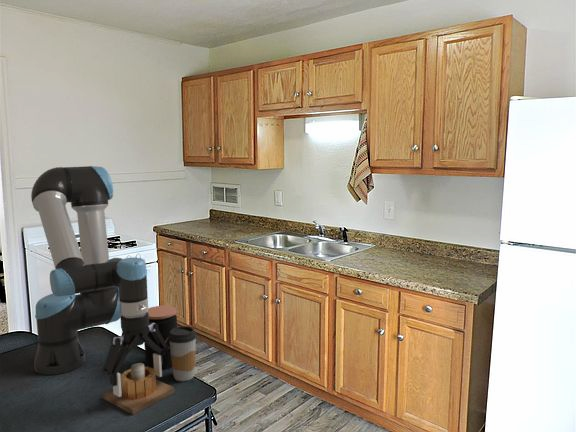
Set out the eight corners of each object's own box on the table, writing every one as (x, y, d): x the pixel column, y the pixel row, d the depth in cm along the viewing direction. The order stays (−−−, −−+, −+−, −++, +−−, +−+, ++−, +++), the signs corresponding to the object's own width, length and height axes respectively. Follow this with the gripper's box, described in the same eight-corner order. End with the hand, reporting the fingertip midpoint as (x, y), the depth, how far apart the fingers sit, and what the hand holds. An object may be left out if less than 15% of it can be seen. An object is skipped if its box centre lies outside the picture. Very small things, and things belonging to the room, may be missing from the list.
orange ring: (115, 392, 131) (114, 376, 130) (142, 379, 138) (141, 363, 137) (135, 402, 125) (134, 385, 125) (162, 388, 133) (161, 372, 132)
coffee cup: (186, 367, 149) (184, 323, 146) (203, 375, 143) (201, 329, 141) (164, 377, 142) (162, 331, 140) (181, 386, 137) (179, 338, 135)
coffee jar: (170, 372, 146) (167, 317, 143) (139, 369, 148) (136, 315, 145) (184, 357, 156) (182, 306, 154) (155, 354, 158) (152, 304, 156)
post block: (103, 398, 130) (101, 368, 129) (144, 378, 142) (142, 351, 140) (133, 414, 122) (131, 383, 121) (174, 392, 133) (173, 363, 132)
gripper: (101, 330, 116) (106, 408, 119) (178, 303, 136) (181, 371, 139) (85, 324, 121) (90, 399, 124) (161, 299, 141) (165, 364, 144)
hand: (138, 385), depth 131 cm, fingers open, 13 cm apart
